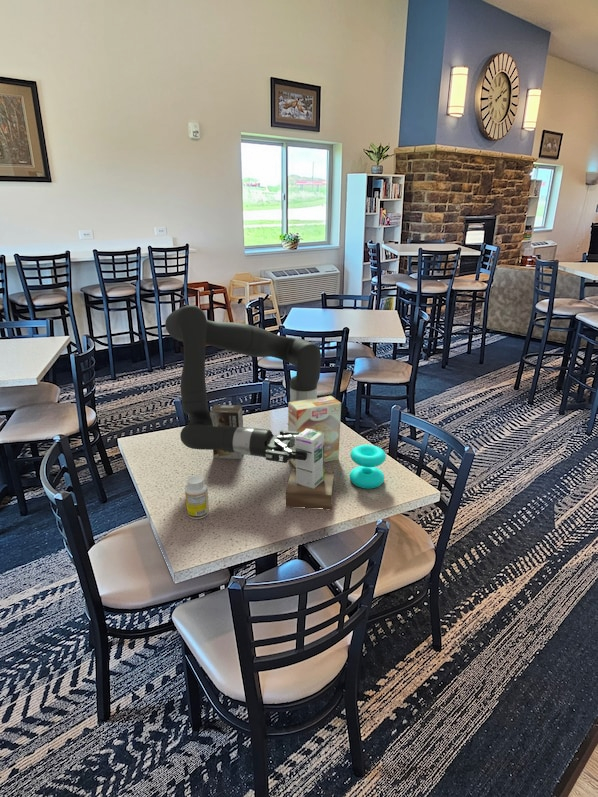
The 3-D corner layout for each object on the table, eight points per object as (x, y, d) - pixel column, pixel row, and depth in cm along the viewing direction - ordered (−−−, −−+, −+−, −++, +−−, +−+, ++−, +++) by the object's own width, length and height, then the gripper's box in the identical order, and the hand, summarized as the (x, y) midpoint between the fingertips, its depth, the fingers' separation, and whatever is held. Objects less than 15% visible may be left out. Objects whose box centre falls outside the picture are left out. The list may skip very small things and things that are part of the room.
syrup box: (314, 489, 131) (313, 440, 126) (295, 483, 134) (294, 435, 129) (324, 479, 136) (325, 432, 130) (306, 474, 139) (305, 427, 133)
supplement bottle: (194, 506, 132) (192, 472, 128) (213, 510, 130) (210, 476, 126) (182, 517, 127) (179, 482, 123) (201, 522, 125) (198, 487, 121)
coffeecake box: (296, 469, 151) (296, 409, 144) (287, 458, 157) (287, 401, 150) (339, 459, 156) (342, 402, 149) (329, 450, 162) (331, 394, 155)
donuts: (344, 452, 139) (361, 439, 147) (343, 483, 143) (359, 469, 151) (376, 462, 134) (392, 448, 142) (374, 494, 138) (389, 479, 145)
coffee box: (244, 450, 162) (243, 404, 156) (240, 459, 156) (238, 412, 150) (217, 449, 163) (214, 403, 157) (212, 458, 157) (209, 411, 151)
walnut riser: (291, 484, 143) (291, 469, 141) (333, 487, 142) (333, 472, 140) (285, 508, 132) (285, 492, 130) (330, 511, 131) (331, 495, 129)
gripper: (243, 440, 128) (304, 447, 124) (260, 419, 140) (316, 425, 137) (244, 466, 130) (303, 474, 126) (261, 442, 143) (316, 449, 139)
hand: (310, 448), depth 131 cm, fingers open, 8 cm apart
